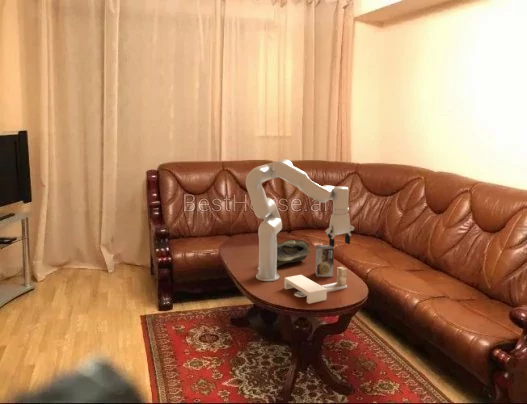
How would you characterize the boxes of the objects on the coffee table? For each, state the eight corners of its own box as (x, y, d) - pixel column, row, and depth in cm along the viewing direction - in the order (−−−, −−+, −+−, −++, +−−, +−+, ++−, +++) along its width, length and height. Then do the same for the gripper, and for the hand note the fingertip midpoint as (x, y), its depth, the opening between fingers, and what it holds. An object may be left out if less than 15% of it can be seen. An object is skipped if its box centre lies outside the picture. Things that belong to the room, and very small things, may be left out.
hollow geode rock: (306, 267, 290) (298, 245, 297) (316, 257, 280) (307, 235, 287) (265, 272, 276) (258, 249, 284) (274, 262, 267) (266, 238, 274)
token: (291, 294, 236) (291, 292, 235) (302, 292, 238) (302, 290, 238) (298, 298, 230) (298, 297, 230) (309, 296, 233) (309, 294, 233)
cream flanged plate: (284, 288, 243) (284, 277, 241) (300, 284, 247) (301, 274, 246) (309, 303, 224) (309, 292, 223) (326, 299, 229) (326, 289, 228)
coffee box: (331, 272, 266) (332, 244, 263) (333, 276, 260) (334, 248, 257) (314, 272, 266) (316, 244, 263) (316, 276, 260) (317, 248, 257)
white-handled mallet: (311, 290, 241) (312, 271, 239) (339, 284, 250) (340, 266, 248) (318, 294, 236) (319, 274, 234) (347, 288, 245) (348, 269, 243)
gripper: (349, 208, 245) (348, 240, 248) (321, 211, 237) (321, 245, 240) (359, 211, 239) (358, 244, 242) (330, 214, 230) (330, 249, 234)
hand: (339, 244), depth 241 cm, fingers open, 9 cm apart
